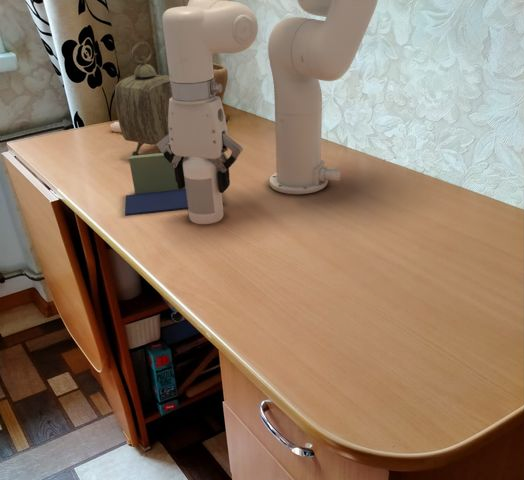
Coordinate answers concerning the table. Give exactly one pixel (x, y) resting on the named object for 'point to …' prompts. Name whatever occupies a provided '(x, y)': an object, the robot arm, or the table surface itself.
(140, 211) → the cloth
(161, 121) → the tabletop clock
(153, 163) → the backboard
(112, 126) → the sitting furry creature
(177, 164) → the robot arm
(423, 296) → the table surface
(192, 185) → the white capped bottle
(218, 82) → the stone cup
